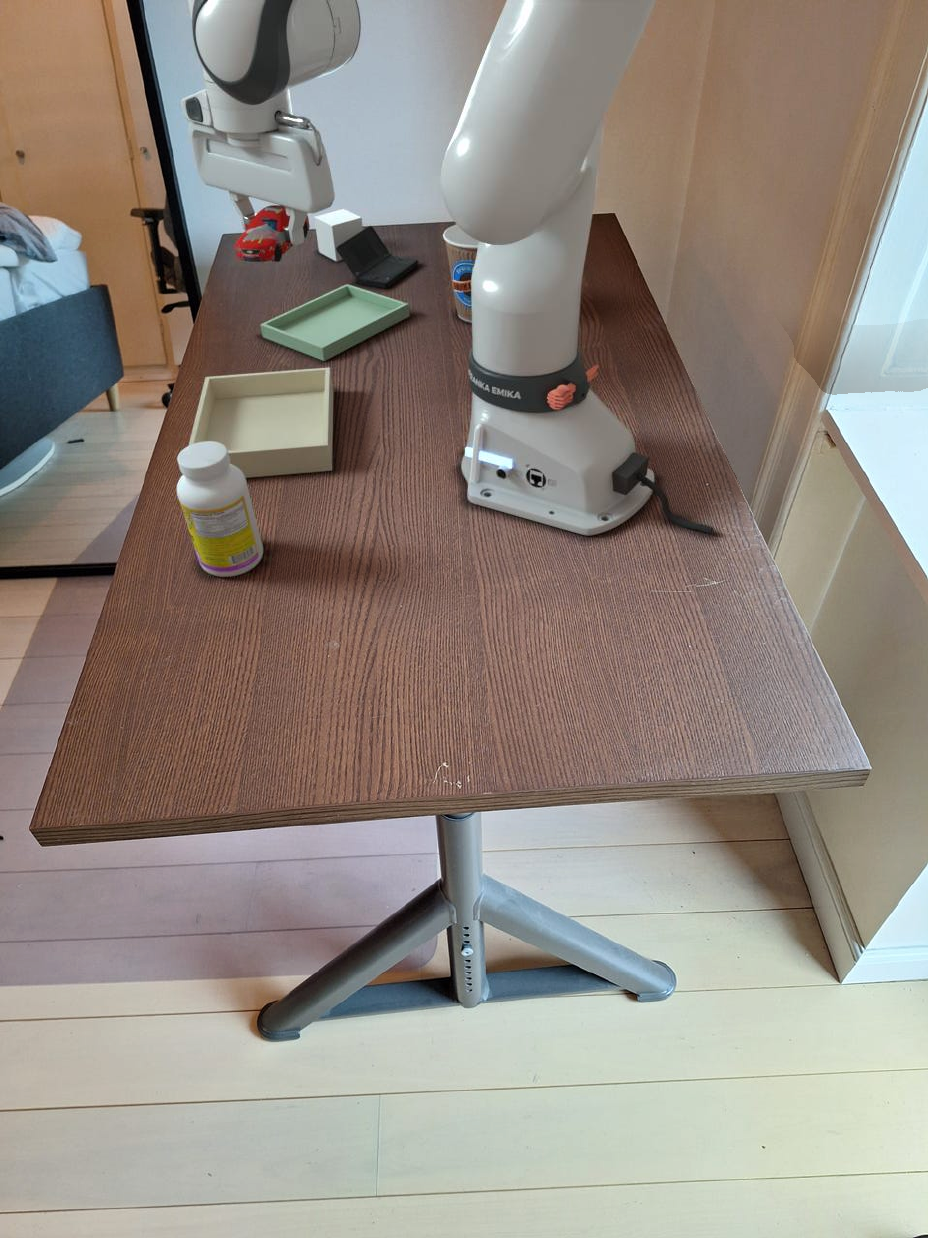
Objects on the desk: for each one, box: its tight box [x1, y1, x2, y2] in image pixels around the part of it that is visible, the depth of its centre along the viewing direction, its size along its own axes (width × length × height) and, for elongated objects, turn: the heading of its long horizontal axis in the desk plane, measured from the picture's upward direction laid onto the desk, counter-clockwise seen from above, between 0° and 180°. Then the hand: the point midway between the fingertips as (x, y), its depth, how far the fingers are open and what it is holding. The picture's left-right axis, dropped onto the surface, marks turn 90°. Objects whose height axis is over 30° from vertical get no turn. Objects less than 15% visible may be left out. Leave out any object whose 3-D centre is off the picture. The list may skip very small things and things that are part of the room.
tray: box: [260, 283, 410, 362], centre depth 128 cm, size 13×18×2 cm
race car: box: [234, 204, 311, 263], centre depth 102 cm, size 13×5×4 cm, turn 163°
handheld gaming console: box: [336, 225, 419, 290], centre depth 142 cm, size 12×7×10 cm
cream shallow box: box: [188, 367, 334, 478], centre depth 105 cm, size 19×16×4 cm
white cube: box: [313, 208, 364, 263], centre depth 149 cm, size 6×6×6 cm
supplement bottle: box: [176, 441, 264, 578], centre depth 84 cm, size 7×7×13 cm
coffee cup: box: [442, 224, 479, 324], centre depth 126 cm, size 10×10×12 cm
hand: (273, 236), depth 103 cm, fingers closed on race car, 6 cm apart
